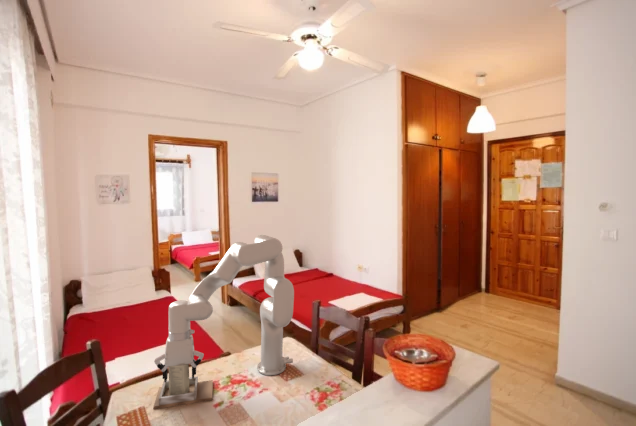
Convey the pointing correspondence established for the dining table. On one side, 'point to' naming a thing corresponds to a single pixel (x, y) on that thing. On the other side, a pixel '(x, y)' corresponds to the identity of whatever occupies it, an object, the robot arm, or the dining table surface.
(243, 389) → the dining table surface
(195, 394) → the box stand
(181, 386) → the skincare box
